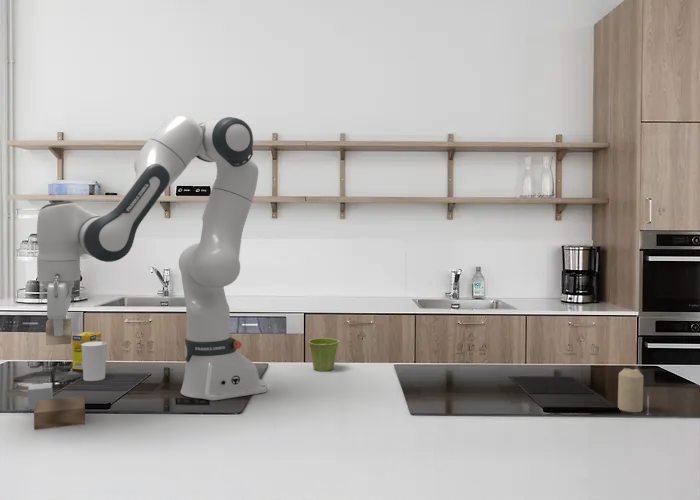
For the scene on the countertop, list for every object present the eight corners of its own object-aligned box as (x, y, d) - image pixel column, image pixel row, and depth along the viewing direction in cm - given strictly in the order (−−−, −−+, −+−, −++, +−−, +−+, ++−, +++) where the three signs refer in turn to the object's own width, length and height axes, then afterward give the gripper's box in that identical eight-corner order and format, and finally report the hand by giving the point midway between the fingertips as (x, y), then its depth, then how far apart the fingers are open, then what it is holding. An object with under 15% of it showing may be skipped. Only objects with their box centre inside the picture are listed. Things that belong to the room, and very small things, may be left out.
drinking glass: (111, 377, 179) (111, 343, 179) (91, 382, 174) (90, 347, 173) (97, 374, 183) (96, 340, 182) (76, 379, 177) (76, 344, 177)
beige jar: (642, 407, 154) (643, 367, 153) (642, 413, 149) (643, 372, 148) (618, 404, 156) (619, 365, 156) (617, 410, 151) (618, 369, 151)
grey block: (52, 402, 155) (52, 382, 154) (51, 408, 150) (51, 387, 150) (29, 405, 153) (29, 384, 153) (28, 410, 148) (27, 389, 148)
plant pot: (338, 373, 187) (338, 344, 186) (306, 372, 187) (307, 343, 187) (339, 365, 196) (339, 338, 196) (309, 365, 196) (309, 338, 196)
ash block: (71, 339, 146) (71, 318, 146) (70, 343, 142) (70, 321, 141) (48, 341, 144) (47, 319, 144) (46, 345, 140) (45, 322, 140)
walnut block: (84, 412, 148) (84, 396, 148) (84, 425, 139) (84, 407, 138) (37, 417, 144) (37, 400, 144) (34, 431, 135) (33, 412, 135)
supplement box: (90, 372, 185) (89, 336, 184) (71, 371, 186) (71, 335, 186) (101, 368, 191) (101, 332, 190) (84, 367, 192) (83, 331, 191)
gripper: (72, 276, 134) (72, 340, 134) (75, 269, 153) (76, 325, 153) (39, 277, 131) (39, 342, 132) (47, 269, 150) (47, 326, 151)
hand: (59, 333), depth 143 cm, fingers closed on ash block, 5 cm apart
